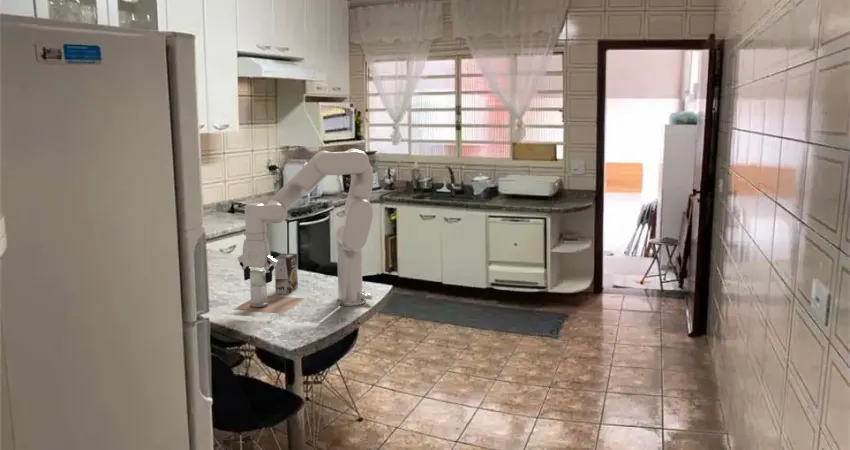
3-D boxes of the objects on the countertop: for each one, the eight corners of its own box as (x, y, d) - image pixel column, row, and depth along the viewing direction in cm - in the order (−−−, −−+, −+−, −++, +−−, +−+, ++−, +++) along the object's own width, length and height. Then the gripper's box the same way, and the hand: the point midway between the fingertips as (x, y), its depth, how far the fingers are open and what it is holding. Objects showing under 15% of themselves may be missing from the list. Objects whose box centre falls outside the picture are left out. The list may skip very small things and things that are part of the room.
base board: (305, 302, 272) (305, 298, 271) (282, 317, 253) (282, 313, 252) (258, 298, 276) (258, 294, 276) (233, 313, 257) (233, 309, 257)
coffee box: (290, 297, 278) (288, 258, 275) (275, 296, 279) (273, 257, 276) (298, 291, 287) (297, 253, 284) (284, 290, 288) (282, 252, 285)
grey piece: (271, 303, 265) (270, 283, 263) (263, 308, 258) (262, 288, 257) (255, 302, 266) (254, 282, 265) (246, 307, 260) (245, 286, 258)
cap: (261, 282, 265) (260, 267, 264) (269, 285, 261) (269, 270, 260) (247, 284, 261) (246, 270, 260) (255, 288, 257) (255, 273, 255)
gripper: (230, 236, 257) (233, 280, 260) (269, 240, 250) (271, 285, 254) (243, 232, 264) (245, 276, 267) (281, 236, 257) (283, 280, 260)
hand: (258, 280), depth 260 cm, fingers open, 9 cm apart
